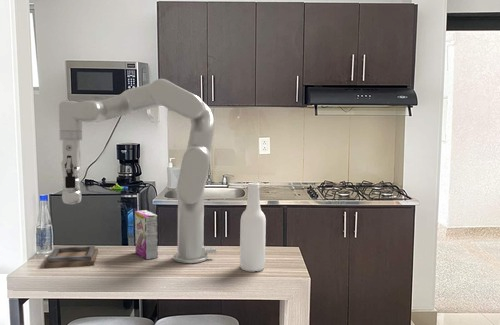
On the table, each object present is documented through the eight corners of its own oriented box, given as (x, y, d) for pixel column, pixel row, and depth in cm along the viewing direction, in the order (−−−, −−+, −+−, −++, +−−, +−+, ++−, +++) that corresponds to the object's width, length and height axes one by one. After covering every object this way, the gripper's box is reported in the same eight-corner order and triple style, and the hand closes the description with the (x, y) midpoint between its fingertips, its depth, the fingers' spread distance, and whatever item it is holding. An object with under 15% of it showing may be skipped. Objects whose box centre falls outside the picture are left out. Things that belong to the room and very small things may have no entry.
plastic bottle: (75, 206, 161) (74, 149, 159) (58, 205, 162) (56, 148, 161) (85, 202, 167) (84, 148, 166) (68, 202, 169) (67, 147, 167)
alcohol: (263, 273, 156) (265, 185, 153) (237, 271, 157) (239, 184, 154) (266, 265, 164) (267, 182, 162) (241, 263, 166) (243, 181, 163)
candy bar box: (134, 252, 177) (134, 210, 175) (146, 251, 180) (146, 209, 178) (145, 260, 168) (145, 216, 166) (158, 258, 170) (158, 214, 169)
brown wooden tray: (97, 252, 176) (97, 244, 176) (93, 265, 161) (93, 256, 160) (53, 254, 173) (53, 246, 172) (44, 267, 157) (44, 259, 157)
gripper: (79, 136, 155) (79, 190, 157) (84, 135, 172) (85, 183, 174) (55, 136, 154) (56, 190, 155) (63, 135, 170) (64, 183, 172)
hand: (71, 186), depth 164 cm, fingers closed on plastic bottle, 5 cm apart
